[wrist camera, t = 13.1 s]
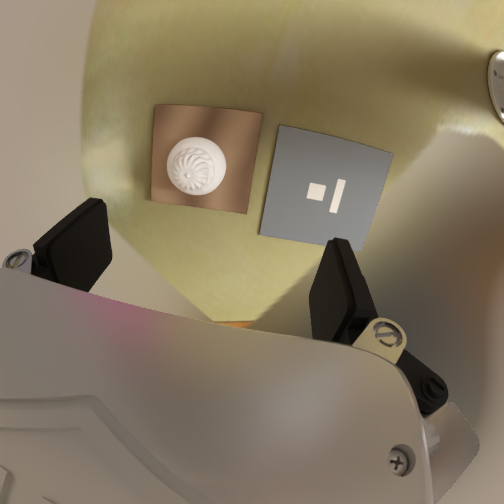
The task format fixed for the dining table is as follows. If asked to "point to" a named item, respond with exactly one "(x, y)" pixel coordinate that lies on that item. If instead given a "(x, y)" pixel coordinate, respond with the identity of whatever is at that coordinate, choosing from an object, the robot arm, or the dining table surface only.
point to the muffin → (196, 165)
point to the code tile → (323, 188)
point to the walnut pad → (224, 136)
